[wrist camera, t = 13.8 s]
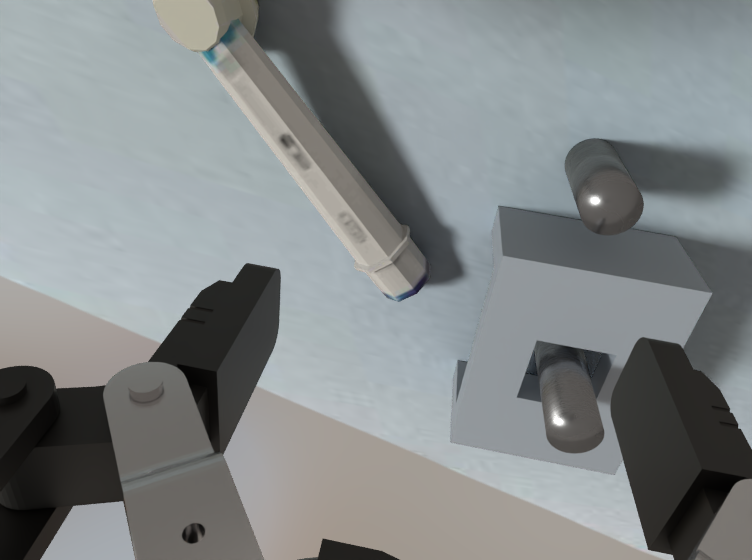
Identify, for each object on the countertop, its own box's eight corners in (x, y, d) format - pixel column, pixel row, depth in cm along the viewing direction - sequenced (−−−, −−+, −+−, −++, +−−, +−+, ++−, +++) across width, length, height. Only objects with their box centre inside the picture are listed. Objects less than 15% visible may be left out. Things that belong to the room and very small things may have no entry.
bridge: (453, 378, 47) (450, 442, 42) (498, 205, 39) (502, 255, 33) (596, 406, 47) (614, 475, 41) (675, 236, 38) (712, 293, 32)
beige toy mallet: (376, 314, 41) (98, -5, 28) (382, 259, 46) (149, -31, 34) (440, 285, 39) (169, -72, 26) (438, 231, 44) (211, -89, 32)
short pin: (557, 180, 37) (571, 228, 31) (574, 134, 36) (592, 175, 30) (606, 190, 37) (629, 240, 31) (625, 144, 35) (653, 188, 30)
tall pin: (524, 327, 44) (539, 447, 34) (535, 293, 42) (555, 409, 32) (566, 335, 44) (593, 458, 33) (579, 301, 42) (612, 420, 32)
